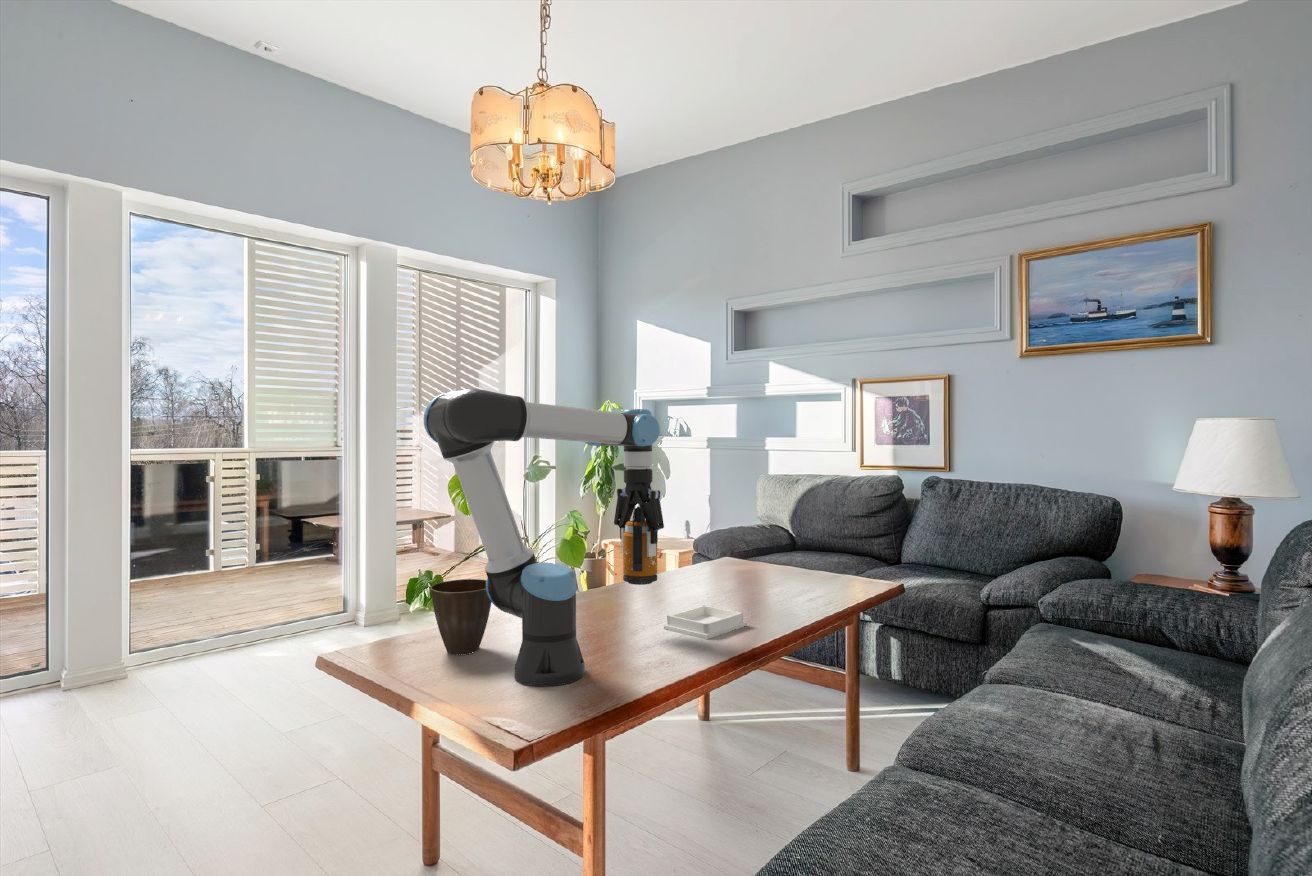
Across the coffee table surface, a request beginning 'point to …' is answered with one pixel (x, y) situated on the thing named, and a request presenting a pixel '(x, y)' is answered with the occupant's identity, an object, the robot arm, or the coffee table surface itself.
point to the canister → (638, 552)
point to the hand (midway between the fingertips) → (638, 554)
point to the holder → (705, 621)
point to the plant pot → (461, 613)
